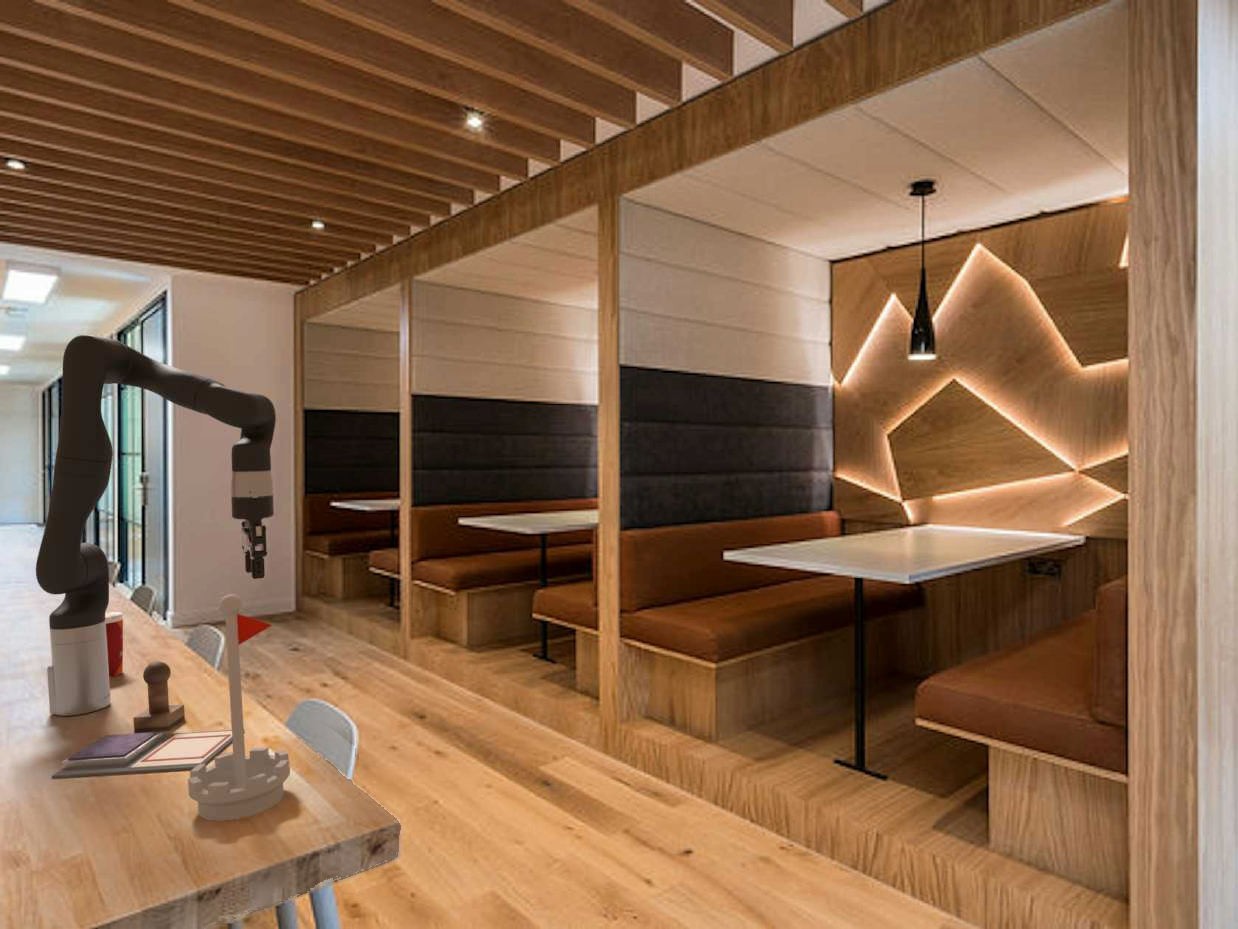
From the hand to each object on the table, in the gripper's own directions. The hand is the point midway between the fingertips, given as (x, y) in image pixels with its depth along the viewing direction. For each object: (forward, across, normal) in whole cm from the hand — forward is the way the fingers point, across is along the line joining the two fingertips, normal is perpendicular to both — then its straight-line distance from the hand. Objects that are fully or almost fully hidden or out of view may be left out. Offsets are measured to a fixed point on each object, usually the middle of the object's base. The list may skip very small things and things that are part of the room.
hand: (254, 575), depth 153 cm
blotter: (+26, +16, -19) cm, 36 cm away
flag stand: (+26, +46, -9) cm, 54 cm away
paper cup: (+27, -48, -26) cm, 61 cm away
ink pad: (+26, +13, -24) cm, 38 cm away
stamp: (+26, +1, -17) cm, 31 cm away
